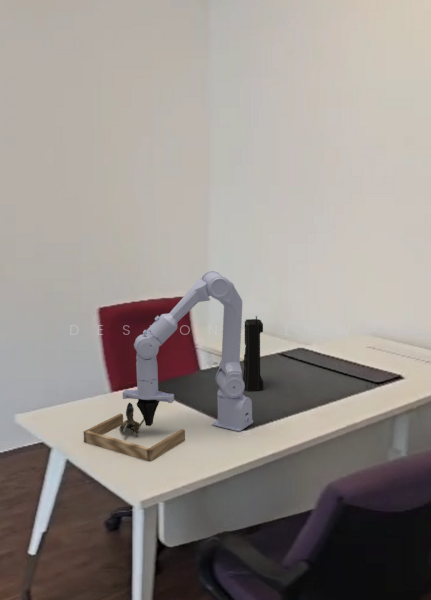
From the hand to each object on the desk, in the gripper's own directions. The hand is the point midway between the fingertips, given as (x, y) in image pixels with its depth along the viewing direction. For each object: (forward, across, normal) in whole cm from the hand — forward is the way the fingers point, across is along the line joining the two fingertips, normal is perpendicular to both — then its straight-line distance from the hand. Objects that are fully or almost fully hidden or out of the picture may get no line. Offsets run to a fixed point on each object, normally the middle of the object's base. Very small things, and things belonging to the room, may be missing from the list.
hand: (149, 424), depth 183 cm
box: (+2, +2, +6) cm, 7 cm away
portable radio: (+3, -19, -43) cm, 47 cm away
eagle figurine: (+2, +5, 0) cm, 5 cm away
